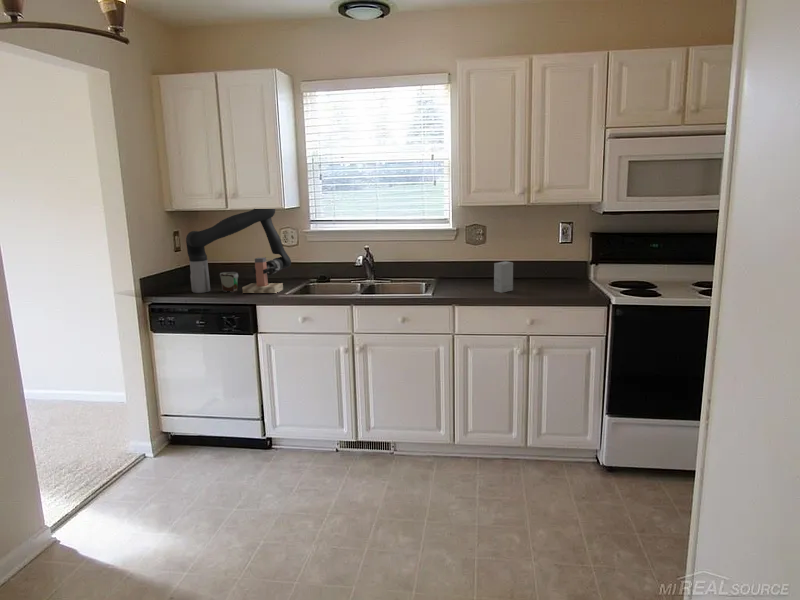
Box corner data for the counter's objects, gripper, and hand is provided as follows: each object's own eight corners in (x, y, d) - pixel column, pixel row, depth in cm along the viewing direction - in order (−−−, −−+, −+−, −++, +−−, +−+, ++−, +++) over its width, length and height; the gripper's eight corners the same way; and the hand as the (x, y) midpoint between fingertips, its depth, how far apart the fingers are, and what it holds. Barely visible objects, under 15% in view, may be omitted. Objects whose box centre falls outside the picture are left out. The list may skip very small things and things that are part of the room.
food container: (244, 290, 309) (243, 272, 307) (235, 292, 304) (234, 274, 302) (229, 288, 316) (228, 271, 313) (221, 290, 311) (219, 272, 309)
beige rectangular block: (242, 293, 300) (242, 287, 299) (252, 289, 311) (251, 283, 311) (274, 293, 297) (274, 287, 296) (283, 289, 309) (282, 283, 308)
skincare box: (505, 289, 291) (505, 260, 288) (513, 290, 286) (514, 262, 283) (493, 291, 287) (493, 262, 284) (501, 293, 282) (501, 263, 279)
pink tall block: (257, 290, 302) (254, 258, 298) (260, 288, 306) (258, 257, 303) (265, 290, 301) (262, 258, 298) (268, 288, 306) (265, 257, 302)
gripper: (258, 260, 316) (246, 264, 299) (283, 260, 314) (271, 264, 297) (259, 273, 317) (247, 278, 301) (283, 273, 315) (272, 278, 299)
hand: (259, 271), depth 299 cm, fingers closed on pink tall block, 4 cm apart
